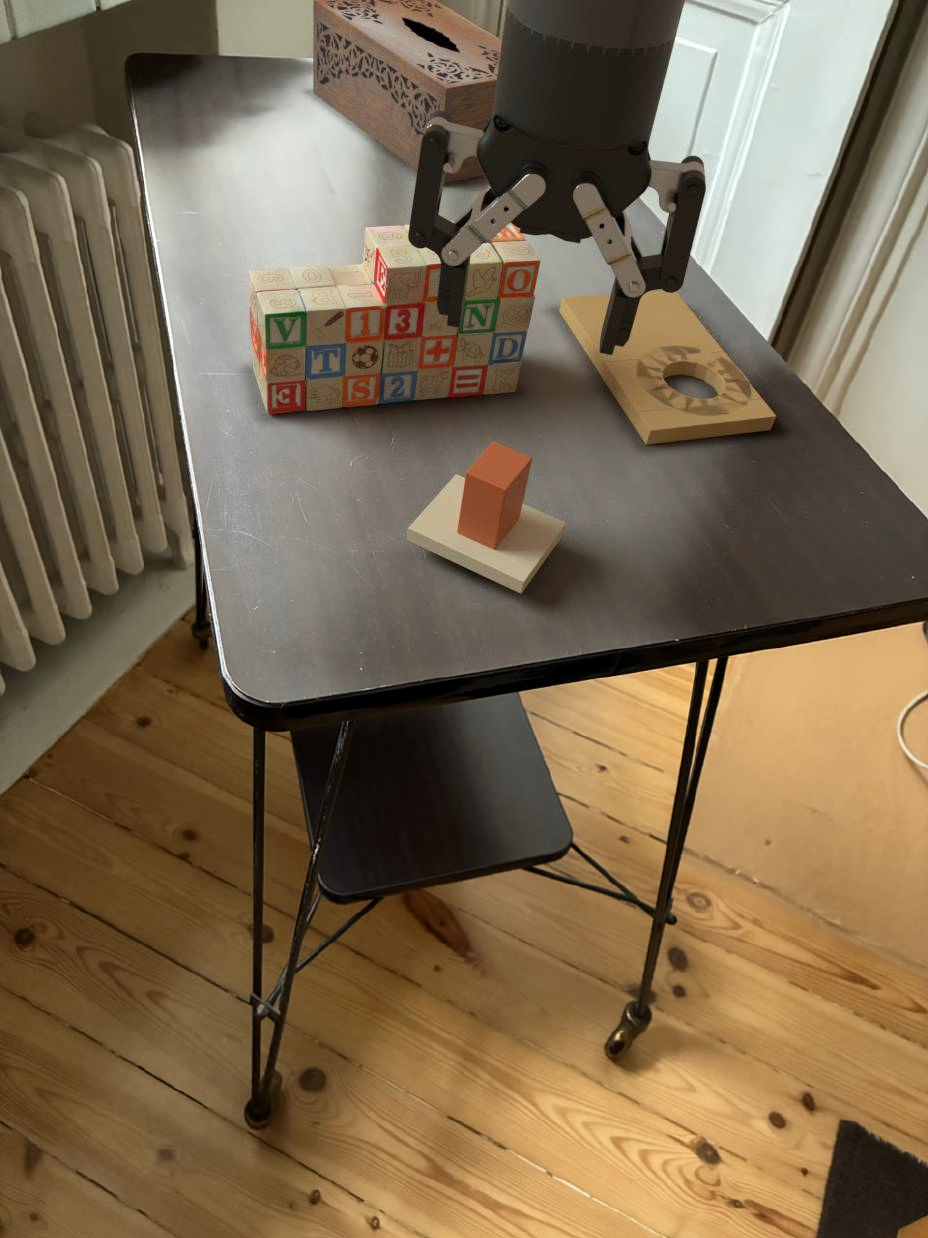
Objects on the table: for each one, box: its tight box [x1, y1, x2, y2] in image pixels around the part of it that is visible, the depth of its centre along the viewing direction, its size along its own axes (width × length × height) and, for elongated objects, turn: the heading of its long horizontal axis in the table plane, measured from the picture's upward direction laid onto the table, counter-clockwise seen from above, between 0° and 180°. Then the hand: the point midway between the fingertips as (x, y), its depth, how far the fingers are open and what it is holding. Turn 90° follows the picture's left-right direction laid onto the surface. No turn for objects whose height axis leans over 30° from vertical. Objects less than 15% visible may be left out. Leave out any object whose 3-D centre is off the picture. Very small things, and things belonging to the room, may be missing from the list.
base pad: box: [558, 290, 777, 446], centre depth 88 cm, size 20×12×2 cm, turn 18°
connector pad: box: [406, 441, 567, 594], centre depth 68 cm, size 9×7×8 cm
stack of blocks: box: [248, 220, 541, 415], centre depth 78 cm, size 21×6×12 cm, turn 109°
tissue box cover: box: [312, 0, 502, 185], centre depth 113 cm, size 26×14×10 cm, turn 37°
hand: (530, 333), depth 55 cm, fingers open, 8 cm apart
